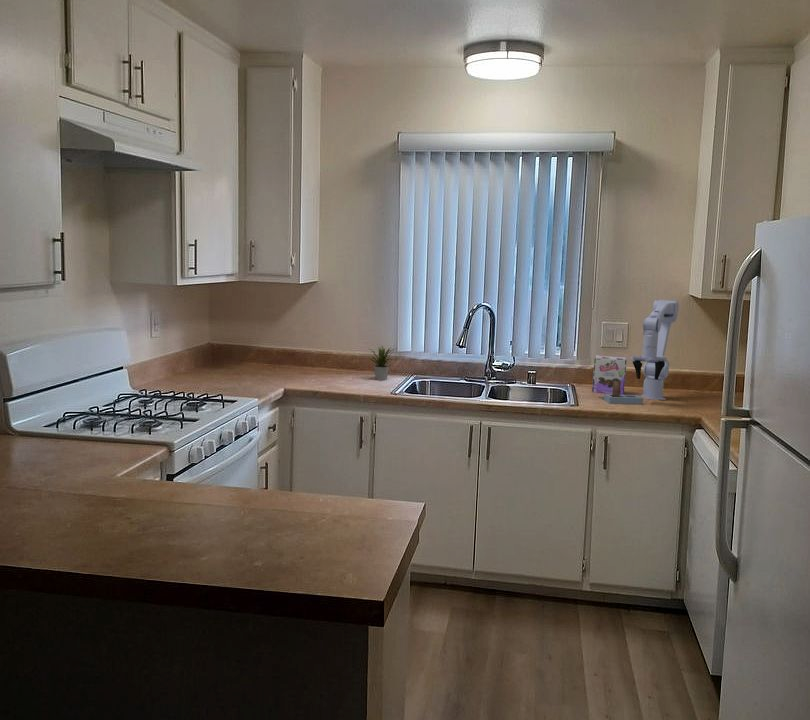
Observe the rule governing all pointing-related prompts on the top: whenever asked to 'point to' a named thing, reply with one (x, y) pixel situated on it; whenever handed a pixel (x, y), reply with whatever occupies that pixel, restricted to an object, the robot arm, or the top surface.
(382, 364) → the house plant
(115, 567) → the top surface
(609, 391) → the candy box
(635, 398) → the hole block
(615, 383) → the dowel
